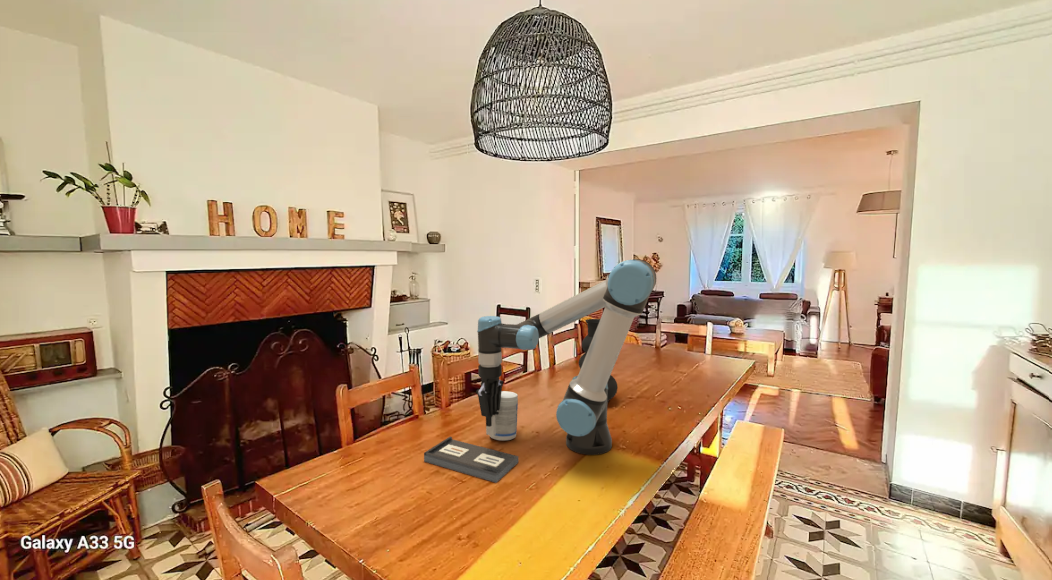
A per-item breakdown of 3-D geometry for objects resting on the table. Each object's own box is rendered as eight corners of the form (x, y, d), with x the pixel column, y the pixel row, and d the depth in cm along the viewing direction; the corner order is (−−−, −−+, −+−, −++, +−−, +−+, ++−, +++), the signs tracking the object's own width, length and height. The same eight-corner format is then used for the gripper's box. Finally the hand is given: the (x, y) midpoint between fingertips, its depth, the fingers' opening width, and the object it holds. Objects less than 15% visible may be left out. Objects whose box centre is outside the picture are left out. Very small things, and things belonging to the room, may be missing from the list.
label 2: (504, 460, 131) (504, 458, 131) (496, 467, 126) (496, 466, 126) (482, 454, 135) (482, 452, 135) (473, 461, 130) (473, 459, 130)
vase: (623, 399, 188) (625, 319, 184) (607, 413, 172) (609, 326, 169) (584, 391, 198) (585, 315, 194) (565, 404, 182) (566, 321, 178)
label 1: (469, 450, 137) (469, 449, 137) (459, 457, 132) (459, 456, 132) (448, 445, 141) (448, 444, 141) (438, 451, 136) (438, 450, 136)
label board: (518, 462, 133) (518, 453, 133) (496, 482, 122) (496, 473, 122) (450, 444, 145) (450, 436, 145) (424, 461, 134) (423, 452, 134)
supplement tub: (521, 438, 149) (523, 396, 149) (497, 443, 144) (499, 399, 144) (506, 430, 157) (508, 389, 157) (483, 433, 152) (485, 392, 152)
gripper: (491, 358, 148) (492, 425, 151) (468, 367, 137) (470, 439, 139) (510, 360, 145) (510, 429, 147) (488, 370, 133) (489, 444, 136)
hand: (491, 434), depth 143 cm, fingers closed
